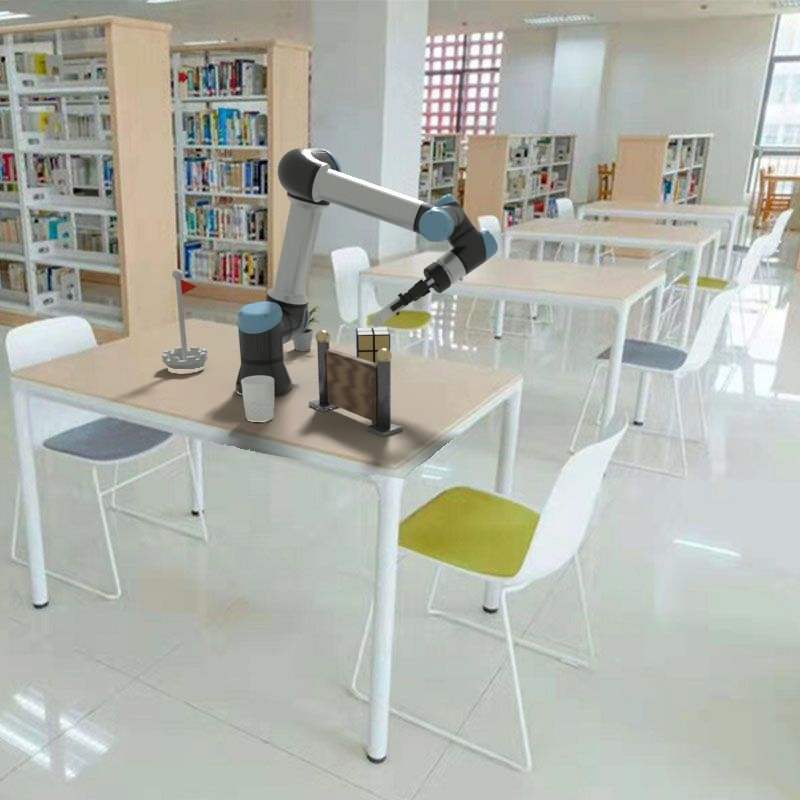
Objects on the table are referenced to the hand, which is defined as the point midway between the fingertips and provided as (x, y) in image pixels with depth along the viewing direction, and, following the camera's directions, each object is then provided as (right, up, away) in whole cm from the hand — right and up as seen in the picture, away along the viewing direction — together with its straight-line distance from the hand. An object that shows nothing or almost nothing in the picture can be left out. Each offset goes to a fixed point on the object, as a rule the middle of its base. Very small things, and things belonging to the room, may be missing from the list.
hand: (376, 320), depth 192 cm
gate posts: (-6, -24, -2) cm, 25 cm away
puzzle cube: (-2, -8, +46) cm, 47 cm away
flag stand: (-58, -11, +39) cm, 71 cm away
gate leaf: (-6, -23, -3) cm, 24 cm away
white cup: (-29, -25, -3) cm, 38 cm away
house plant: (-25, -4, +60) cm, 65 cm away
